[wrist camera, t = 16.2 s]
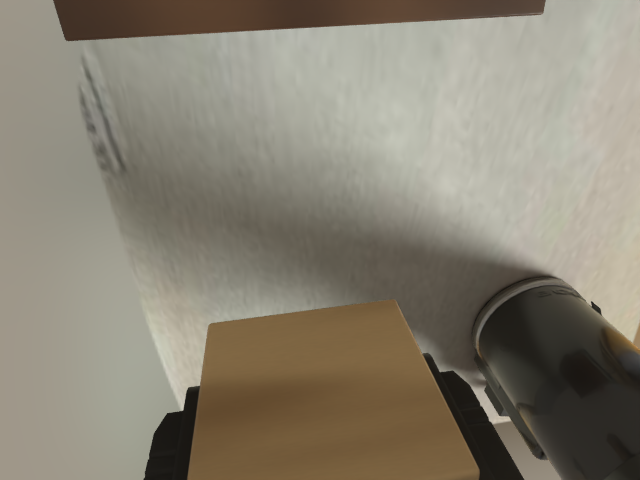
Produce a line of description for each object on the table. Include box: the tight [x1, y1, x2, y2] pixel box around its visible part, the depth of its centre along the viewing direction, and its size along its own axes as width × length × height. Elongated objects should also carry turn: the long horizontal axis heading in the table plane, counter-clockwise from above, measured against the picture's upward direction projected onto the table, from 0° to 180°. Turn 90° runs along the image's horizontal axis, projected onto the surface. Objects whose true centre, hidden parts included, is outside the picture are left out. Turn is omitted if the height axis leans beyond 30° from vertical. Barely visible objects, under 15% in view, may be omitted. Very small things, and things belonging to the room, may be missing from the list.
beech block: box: [187, 299, 480, 480], centre depth 10 cm, size 5×5×5 cm
